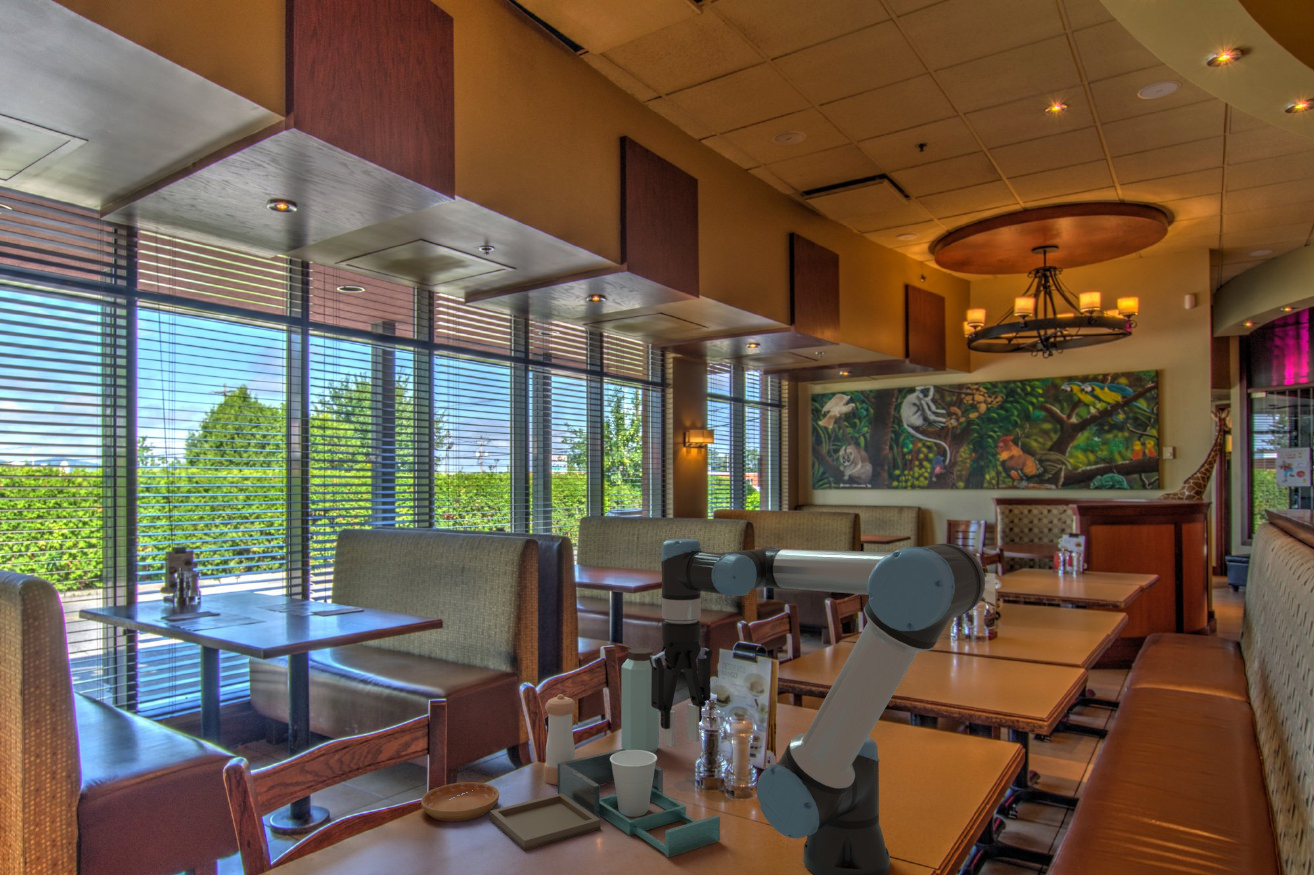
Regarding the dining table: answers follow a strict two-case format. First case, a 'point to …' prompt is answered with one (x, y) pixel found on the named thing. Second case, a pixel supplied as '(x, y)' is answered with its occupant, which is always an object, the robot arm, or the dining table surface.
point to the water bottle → (638, 703)
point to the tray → (544, 821)
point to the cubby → (592, 779)
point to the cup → (633, 780)
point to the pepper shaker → (559, 736)
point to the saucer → (460, 801)
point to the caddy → (675, 838)
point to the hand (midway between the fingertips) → (681, 742)
